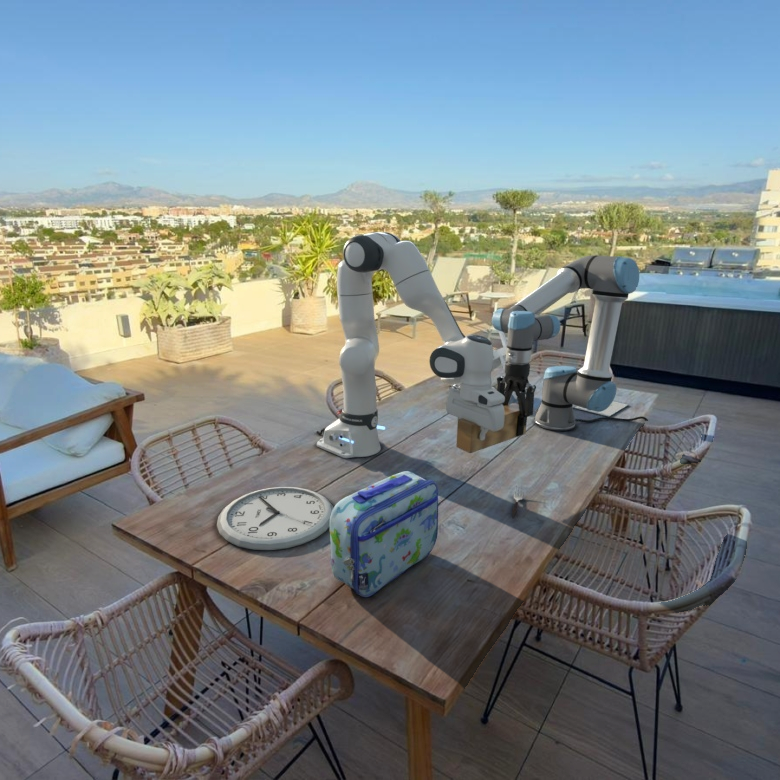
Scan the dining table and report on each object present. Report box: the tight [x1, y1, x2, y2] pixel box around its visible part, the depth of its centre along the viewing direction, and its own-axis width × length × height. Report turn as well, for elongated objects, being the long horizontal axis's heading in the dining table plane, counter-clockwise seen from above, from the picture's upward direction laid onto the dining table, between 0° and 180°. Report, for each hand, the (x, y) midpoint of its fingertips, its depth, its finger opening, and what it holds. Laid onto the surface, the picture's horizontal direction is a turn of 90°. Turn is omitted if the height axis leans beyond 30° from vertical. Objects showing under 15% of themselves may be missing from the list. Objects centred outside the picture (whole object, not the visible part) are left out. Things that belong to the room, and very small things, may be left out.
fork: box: [511, 486, 525, 519], centre depth 144 cm, size 3×16×2 cm, turn 160°
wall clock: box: [216, 486, 334, 551], centre depth 136 cm, size 30×2×30 cm
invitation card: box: [573, 400, 629, 417], centre depth 226 cm, size 21×1×15 cm
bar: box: [455, 402, 528, 454], centre depth 161 cm, size 26×6×9 cm, turn 128°
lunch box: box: [329, 470, 439, 598], centre depth 113 cm, size 26×11×21 cm, turn 134°
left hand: (472, 435), depth 156 cm, fingers closed on bar, 6 cm apart
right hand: (511, 431), depth 168 cm, fingers closed on bar, 6 cm apart
